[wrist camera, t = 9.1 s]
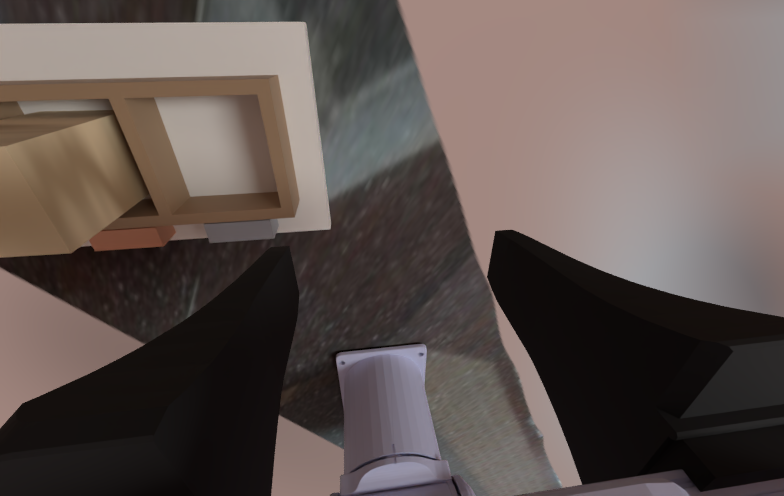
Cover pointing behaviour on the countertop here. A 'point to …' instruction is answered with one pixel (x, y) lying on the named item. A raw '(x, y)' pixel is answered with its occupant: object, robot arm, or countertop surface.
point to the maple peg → (63, 180)
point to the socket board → (187, 120)
